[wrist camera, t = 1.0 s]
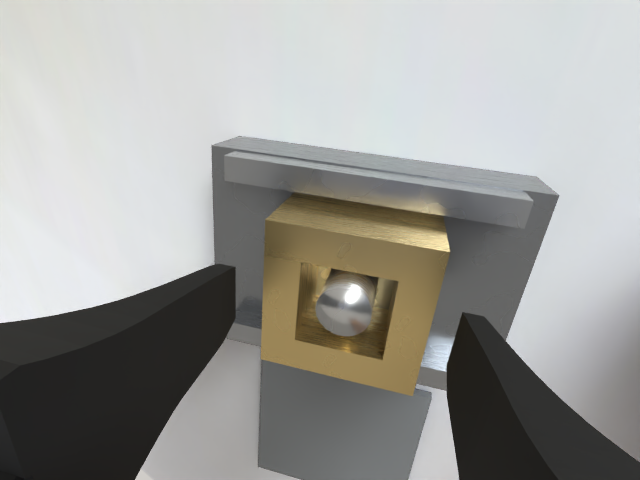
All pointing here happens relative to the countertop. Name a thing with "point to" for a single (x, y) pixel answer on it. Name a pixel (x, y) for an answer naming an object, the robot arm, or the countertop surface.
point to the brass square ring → (358, 257)
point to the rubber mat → (336, 426)
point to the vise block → (393, 192)
